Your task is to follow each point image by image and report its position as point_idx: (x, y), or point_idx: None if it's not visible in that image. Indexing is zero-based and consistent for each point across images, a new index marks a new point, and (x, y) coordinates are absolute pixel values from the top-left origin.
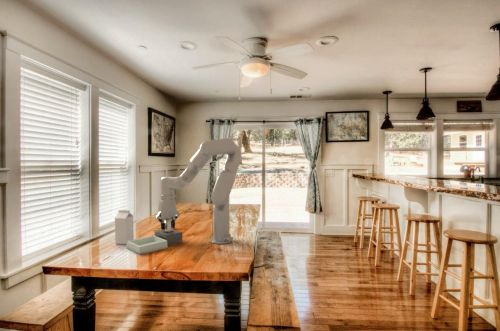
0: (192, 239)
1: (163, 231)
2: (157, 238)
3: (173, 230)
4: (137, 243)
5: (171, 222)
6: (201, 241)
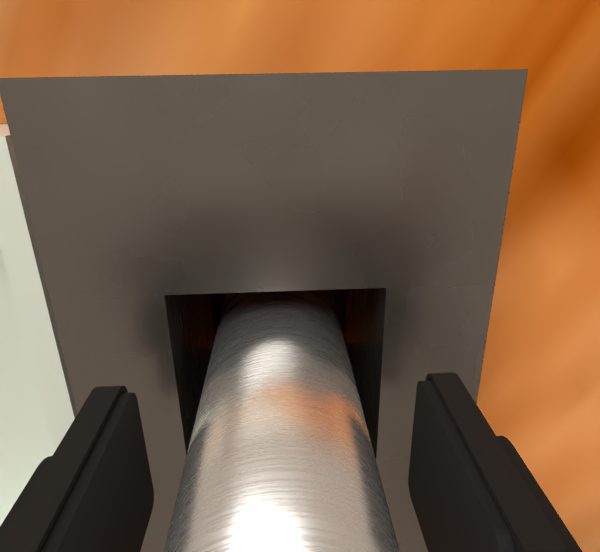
0: (581, 408)
1: (207, 285)
2: (40, 354)
3: (429, 366)
4: None
5: (469, 526)
6: (570, 533)
